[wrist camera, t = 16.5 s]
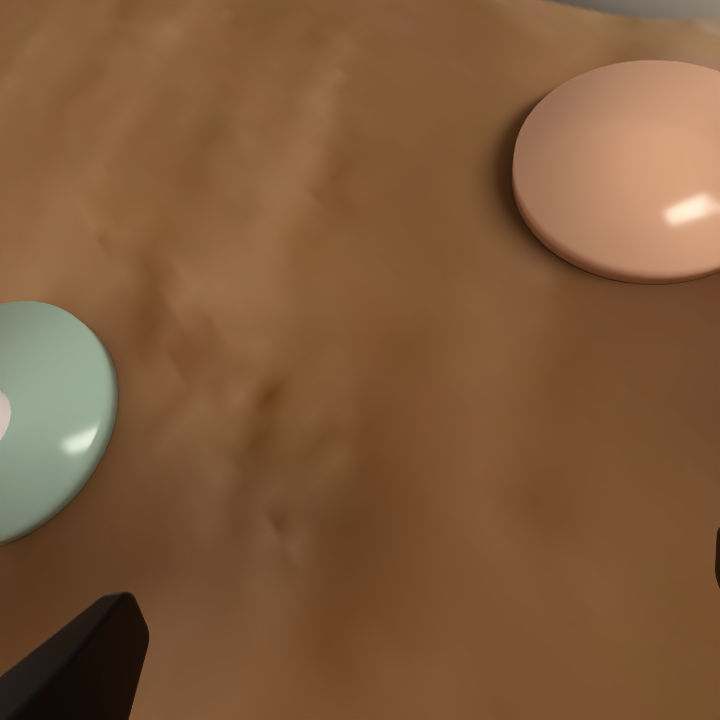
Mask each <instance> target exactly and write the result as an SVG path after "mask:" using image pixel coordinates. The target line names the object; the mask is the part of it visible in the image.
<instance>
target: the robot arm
mask: <svg viewBox="0 0 720 720" xmlns="http://www.w3.org/2000/svg"><path fill="white" fill-rule="evenodd" d="M715 574H716V579H717V582H718V585H719V588H720V528H719V529H718V531H717V539H716V559H715ZM148 643H149V631H148V627H147V625H146V622H145V620H144V618H143V615H142V613H141V611H140V608H139V606H138V604H137V601H136V599H135V597H134V595H132V594H131V593H130V592H118V593H109V594H106V595H104V596H102V597H101V598H99V599H98V600H97V601H95V602H94V603H93V604H92V605H90V606H89V607H88V608H87V609H85V610H84V611H83V612H82V613H80V614H79V615H78V616H76V617H75V618H74V619H73V620H71V621H70V622H69V623H68V624H66V625H65V626H64V627H62V628H61V629H60V630H59V631H57V632H56V633H55V634H54V635H52V636H51V637H50V638H48V639H47V640H46V641H45V642H43V643H42V644H41V645H40V646H38V647H37V648H36V649H35V650H33V651H32V652H31V653H29V654H28V655H27V656H26V657H24V658H23V659H22V660H21V661H19V662H18V663H17V664H15V665H14V666H13V667H12V668H10V669H9V670H8V671H7V672H5V673H4V674H3V675H2V676H0V720H129V716H130V712H131V708H132V705H133V701H134V697H135V693H136V689H137V686H138V682H139V678H140V674H141V671H142V667H143V663H144V659H145V655H146V652H147V648H148Z"/></svg>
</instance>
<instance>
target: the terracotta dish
mask: <svg viewBox="0 0 720 720" xmlns="http://www.w3.org/2000/svg"><path fill="white" fill-rule="evenodd" d="M512 189H513V195H514V199H515V202H516V205H517V208H518V211H519V212H520V214H521V216H522V218H523V220H524V222H525V223H526V225H527V226H528V228H529V229H530V230H531V232H532V233H533V234H534V235H535V236H536V237H537V238H538V239H539V241H540V242H541V243H542V244H543V245H544V246H546V247H547V248H548V249H549V250H551V251H552V252H553V253H554V254H556V255H557V256H559V257H560V258H562V259H564V260H565V261H567V262H568V263H570V264H572V265H574V266H576V267H578V268H580V269H583V270H585V271H587V272H589V273H592V274H595V275H598V276H601V277H604V278H608V279H613V280H617V281H622V282H629V283H637V284H672V283H682V282H687V281H692V280H696V279H701V278H704V277H707V276H710V275H713V274H716V273H719V272H720V72H719V71H716V70H713V69H709V68H706V67H703V66H699V65H694V64H689V63H684V62H675V61H666V60H643V61H630V62H624V63H617V64H612V65H608V66H604V67H600V68H597V69H594V70H591V71H589V72H586V73H583V74H581V75H579V76H577V77H575V78H573V79H570V80H569V81H567V82H565V83H564V84H562V85H560V86H559V87H557V88H556V89H554V90H553V91H552V92H551V93H549V94H548V95H547V96H545V97H544V98H543V99H542V100H541V101H540V102H539V103H538V104H537V105H536V106H535V108H534V109H533V110H532V112H531V113H530V114H529V116H528V117H527V118H526V120H525V122H524V124H523V126H522V128H521V129H520V132H519V135H518V138H517V141H516V145H515V151H514V158H513V167H512Z"/></svg>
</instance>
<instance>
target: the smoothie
mask: <svg viewBox="0 0 720 720" xmlns="http://www.w3.org/2000/svg"><path fill="white" fill-rule="evenodd" d="M10 416H11V408H10V403H9V400H8V398H7V396H6V395H5V394H4V393H3V392H2V391H1V390H0V440H1V439H2V437H3V436H4V434H5V432H6V430H7V428H8V425H9V421H10Z"/></svg>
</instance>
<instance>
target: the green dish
mask: <svg viewBox="0 0 720 720" xmlns="http://www.w3.org/2000/svg"><path fill="white" fill-rule="evenodd" d="M0 390H1V391H2V392H3V393H4V394H5V395H6V396H7V398H8V400H9V403H10V408H11V416H10V421H9V425H8V428H7V430H6V432H5V434H4V436H3V437H2V439H1V440H0V546H2V545H5V544H8V543H11V542H14V541H16V540H18V539H20V538H22V537H24V536H26V535H28V534H30V533H32V532H33V531H35V530H36V529H38V528H40V527H41V526H43V525H44V524H46V523H47V522H48V521H50V520H51V519H52V518H53V517H55V516H56V515H57V514H58V513H60V512H61V511H62V510H63V509H64V508H65V507H66V506H67V505H68V504H69V503H70V502H71V501H72V500H73V499H74V498H75V497H76V495H77V494H78V493H79V492H80V491H81V489H82V488H83V487H84V486H85V485H86V483H87V482H88V480H89V479H90V477H91V476H92V474H93V473H94V471H95V470H96V468H97V466H98V464H99V462H100V460H101V459H102V457H103V455H104V453H105V450H106V448H107V446H108V443H109V441H110V438H111V435H112V432H113V428H114V425H115V421H116V415H117V409H118V394H119V388H118V378H117V373H116V369H115V365H114V361H113V359H112V357H111V354H110V352H109V350H108V348H107V347H106V345H105V344H104V342H103V341H102V339H101V338H100V337H99V336H98V335H97V334H96V333H95V332H94V331H93V330H92V329H91V328H89V327H88V326H87V325H86V324H84V323H83V322H81V321H80V320H79V319H77V318H76V317H74V316H73V315H72V314H70V313H69V312H67V311H65V310H63V309H61V308H59V307H56V306H53V305H50V304H47V303H41V302H35V301H17V302H9V303H4V304H0Z"/></svg>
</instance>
